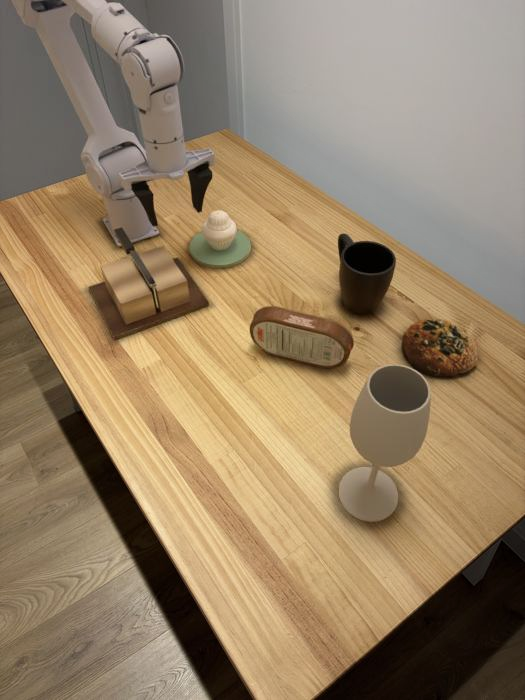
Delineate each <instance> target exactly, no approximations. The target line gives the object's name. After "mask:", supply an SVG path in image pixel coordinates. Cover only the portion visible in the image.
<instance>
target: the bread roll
mask: <svg viewBox="0 0 525 700" xmlns="http://www.w3.org/2000/svg"><path fill="white" fill-rule="evenodd" d="M401 343H402V350H403V352H404V354H405V356H406V358H407V360H408V361H409V363H410V365H411V366H412V368H413V369H414V370H416V371H418V372H419V373H423V374H426V375H429V376H434V377H435V376H437V377H452V376H454V377H455V376H457V375H458V374H464V373H468V372H470V371H471V370H472V369H473V368H474V367H475V366H476V365H477V364H478V361H479V360H478V358H479V357H478V347H477V343H476V341H475V339H474V337H473V336H472V335H471V334H470V333H469V331H468V330H466V329H463V328H462V327H460V326H459V325H457V324H456V323H454V322H452V321H449V320H446V319H443V318H434V319H422V320H419V321H417V322H415V323H412V324H410V326H409V327H408V328H407V329H406V331H404V333H403V335H402V340H401Z"/></svg>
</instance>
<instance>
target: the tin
mask: <svg viewBox="0 0 525 700" xmlns="http://www.w3.org/2000/svg"><path fill="white" fill-rule="evenodd" d="M249 335H250V338H251V341H252V342H253V343H254V344H255V345H256V346H257V348H259V349H260V350H262V351H263V352H266V353H267V354H268V355H269V354H270V355H273V356H276V357H280V358H283V359H288V360H290V361H295V362H298V363H301V364H302V363H303V364H306V365H310V366H313V367H317V368H321V369H335V368H339V367H341V366H343V365H344V364H345V363H346V362H347V361H348V359H349V358H350V355H351V353H352V350H353V348H354V344H355V341H354V337H353V335H352V333H351V332H350V330H349V329H348V328H347V327H345V326H344V325H343V324H341V323H340V322H338V321H335V320H333V319H330V318H328V317H327V318H326V317H322V316H319V315H315V314H309V313H306V312H301V311H297V310H294V309H289V308H285V307H281V306H276V305H268V306H263V307H260V308H259V309H257V311H256V310H255V312H254V315H253V318H252V320H251V323H250V325H249Z"/></svg>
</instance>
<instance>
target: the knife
mask: <svg viewBox="0 0 525 700" xmlns="http://www.w3.org/2000/svg"><path fill="white" fill-rule="evenodd" d="M114 232H115V235H116V237H117V239H118V240H119V242H120V244H121V245H122V246H121V247H122V249H123V251H124V252H125V254H126V255H127V256H128V255H130V257H131V259H132V261H133V262H134V264H135V266H136V267H137V269H138V271H139V272H140V274H141V276H142V277H143V279H144V280H145V282H146V284H147V285H148V287H149V289H150V290H151V292H152V295H153V300H154V305H155V306H156V308H157V309H159V306H158V301H157V296H156V291H155V286H157V285H156V282H155V281H154V279H153V277H152V276H151V274H150V273H149V271H148V269H147V268H146V266H145V265H144V263H143V261H142V260H141V258H140V257H139V255H138V254H139V253H138V251H136V248H135V246H134V243H131V241H130V239H129V238H128V236H127V235H126V233H125V231H124V230H123V228H122V227H121V228H118V229H114Z"/></svg>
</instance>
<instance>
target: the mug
mask: <svg viewBox="0 0 525 700" xmlns="http://www.w3.org/2000/svg"><path fill="white" fill-rule="evenodd" d="M337 250H338V251H337V252H338V257H339V270H338V280H339V281H338V282H339V289H340V293H341V299H342V302H343V306H344V308H345V309H346V310H347V311H348V312H350V313H352V314H353V315H356V316H357V315H358V316H367V315H370V314H373V313H374V312H376V310H377V309H378V307H379V306H380V304H381V303H382V301H383V299H384V298H385V296H386V294H387V293H388V291H389V289H390V286H391V284H392V280H393V278H394V274H395V270H396V269H395V268H396V264H397V258H396V255H395V253H394V252H393V250H392V249H391V248H389V247H388V246H386V245H385V244H382V243H380V242H377V241H372V240H359V241H355V242H354V240H353V239H352V238H351V237H350V235H348V233H345V232H344V233H341V234H339V235H338V237H337Z"/></svg>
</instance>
